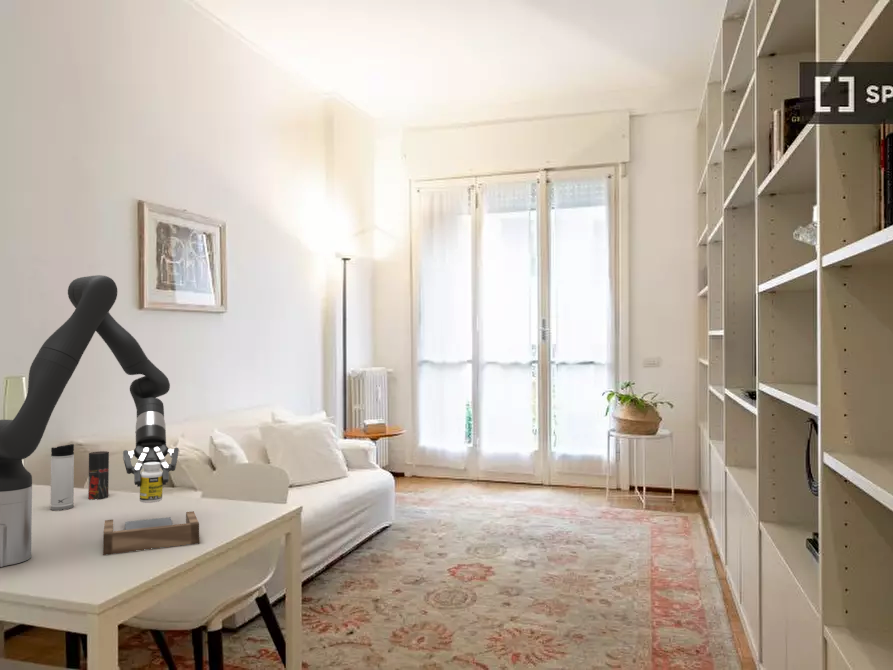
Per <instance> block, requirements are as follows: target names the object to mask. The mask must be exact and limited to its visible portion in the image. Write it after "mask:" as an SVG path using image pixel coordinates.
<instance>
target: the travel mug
mask: <svg viewBox="0 0 893 670" xmlns="http://www.w3.org/2000/svg"><path fill="white" fill-rule="evenodd" d="M50 449H51V450H50V451H51V452H50V453H51V454H50V455H51V456H50V457H51V458H50V510H51V509H52V510H51V511H55V510H59V511H63V510H62V509H67V510H69V508H71V509H73V508H74V502H75V500H74V499H75V497H74V496H75V495H74V494H75V493H74V488H75V487H74V486H75V485H74V484H75V482H74V481H75V478H74V477H75V452H74V450H75V445H74V443H72V444H66V445H60V446H59V445H58V446H57V447H51V448H50ZM72 507H73V508H72Z"/></svg>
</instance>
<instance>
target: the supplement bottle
mask: <svg viewBox="0 0 893 670" xmlns="http://www.w3.org/2000/svg"><path fill="white" fill-rule="evenodd" d="M160 469H161V468H160V462H147V463H144V467H143V471H142V472H140V479H141V483H140V487H139V502H140V503H143V504H144V503H145V504H151V503H158V502H160V501H162V500H163V488H164V487H163V486H164V485H163V471H162V470H160Z"/></svg>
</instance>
